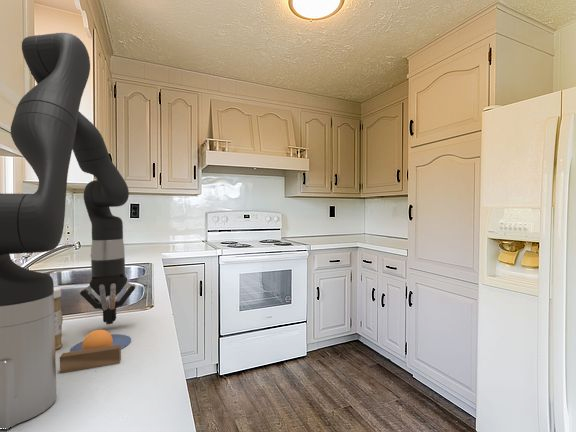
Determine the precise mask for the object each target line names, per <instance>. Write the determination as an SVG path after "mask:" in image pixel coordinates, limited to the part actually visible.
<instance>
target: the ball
mask: <svg viewBox="0 0 576 432" xmlns="http://www.w3.org/2000/svg"><path fill="white" fill-rule="evenodd" d="M111 335H112V334H111V333H110V332H109V331H107V330H104V329H96V330H92V331H90V332H89V333H88V334H87V335H86V336H85V337H84V339H83V341H82V342H83V343H82V350H86V349H93V348H100V347H106V346H112V343H113V339H112V336H111Z"/></svg>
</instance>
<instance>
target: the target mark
mask: <svg viewBox="0 0 576 432" xmlns="http://www.w3.org/2000/svg"><path fill="white" fill-rule="evenodd" d="M111 336H112V339H113V343H112V346H113V345H120V344H121V350H123V349H125V348H126V347H128V346H129V345H130V344H131V343H132V337H131V336H129V335H126V334H118V333H117V334H111ZM82 343H83V341H81V342H78V343H75V345H73V346H72V347H71V348H70V349H69V352H73V351H79V350H82Z"/></svg>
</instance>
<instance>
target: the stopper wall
mask: <svg viewBox="0 0 576 432" xmlns="http://www.w3.org/2000/svg"><path fill="white" fill-rule="evenodd" d="M121 361H122V349H121V344H120V345H113V346H106V347H100V348H93V349H86V350H79V351H73V352H70V351H66V352H62V353H61V355H60V356H59V373H60V374H64V373H69V372H74V371H81V370H82V371H83V370H87V369H93V368H98V367H105V366H110V365H111V366H112V365H117V364H120V363H121Z"/></svg>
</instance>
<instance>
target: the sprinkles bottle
mask: <svg viewBox="0 0 576 432" xmlns="http://www.w3.org/2000/svg"><path fill="white" fill-rule="evenodd" d="M53 293H54V326H55V351H57V350H59V349H60V348H62V346H63V343H62V332H63V331H62V324H63V323H62V324H61V313H62V307H61V298H62V297H61V296H62V289H61V287H57V286H54V292H53Z"/></svg>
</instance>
